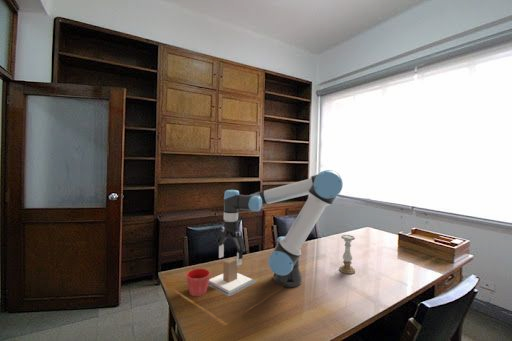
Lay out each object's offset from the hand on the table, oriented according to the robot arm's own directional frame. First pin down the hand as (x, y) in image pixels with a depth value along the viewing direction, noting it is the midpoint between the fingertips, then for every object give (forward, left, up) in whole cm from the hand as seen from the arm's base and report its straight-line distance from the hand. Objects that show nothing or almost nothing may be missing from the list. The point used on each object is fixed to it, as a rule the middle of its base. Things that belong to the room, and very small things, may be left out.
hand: (229, 260), depth 127 cm
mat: (0, 0, -12) cm, 12 cm away
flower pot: (+4, +17, -12) cm, 21 cm away
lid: (0, 0, -11) cm, 11 cm away
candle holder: (-39, -57, -12) cm, 70 cm away
